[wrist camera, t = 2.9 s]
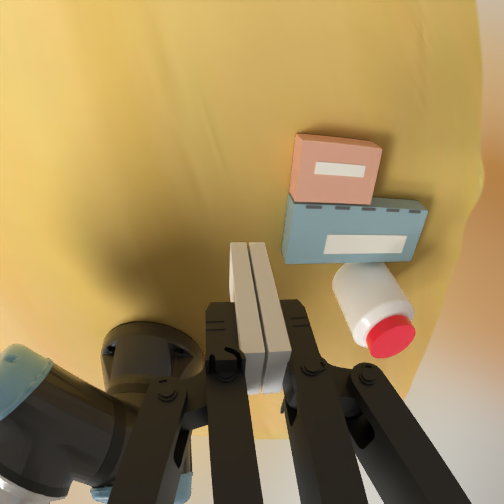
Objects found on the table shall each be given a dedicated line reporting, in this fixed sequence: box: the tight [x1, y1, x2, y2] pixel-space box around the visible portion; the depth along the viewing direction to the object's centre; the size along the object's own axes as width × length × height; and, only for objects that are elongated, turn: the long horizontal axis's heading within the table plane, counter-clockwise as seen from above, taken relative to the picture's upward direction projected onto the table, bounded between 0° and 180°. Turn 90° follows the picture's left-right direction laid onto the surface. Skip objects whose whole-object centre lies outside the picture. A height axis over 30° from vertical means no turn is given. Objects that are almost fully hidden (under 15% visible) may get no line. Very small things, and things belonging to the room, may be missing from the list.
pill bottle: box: [332, 262, 415, 358], centre depth 35 cm, size 8×8×11 cm
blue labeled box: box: [281, 193, 428, 264], centre depth 34 cm, size 16×7×3 cm, turn 86°
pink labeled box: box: [289, 133, 382, 205], centre depth 30 cm, size 8×6×3 cm
